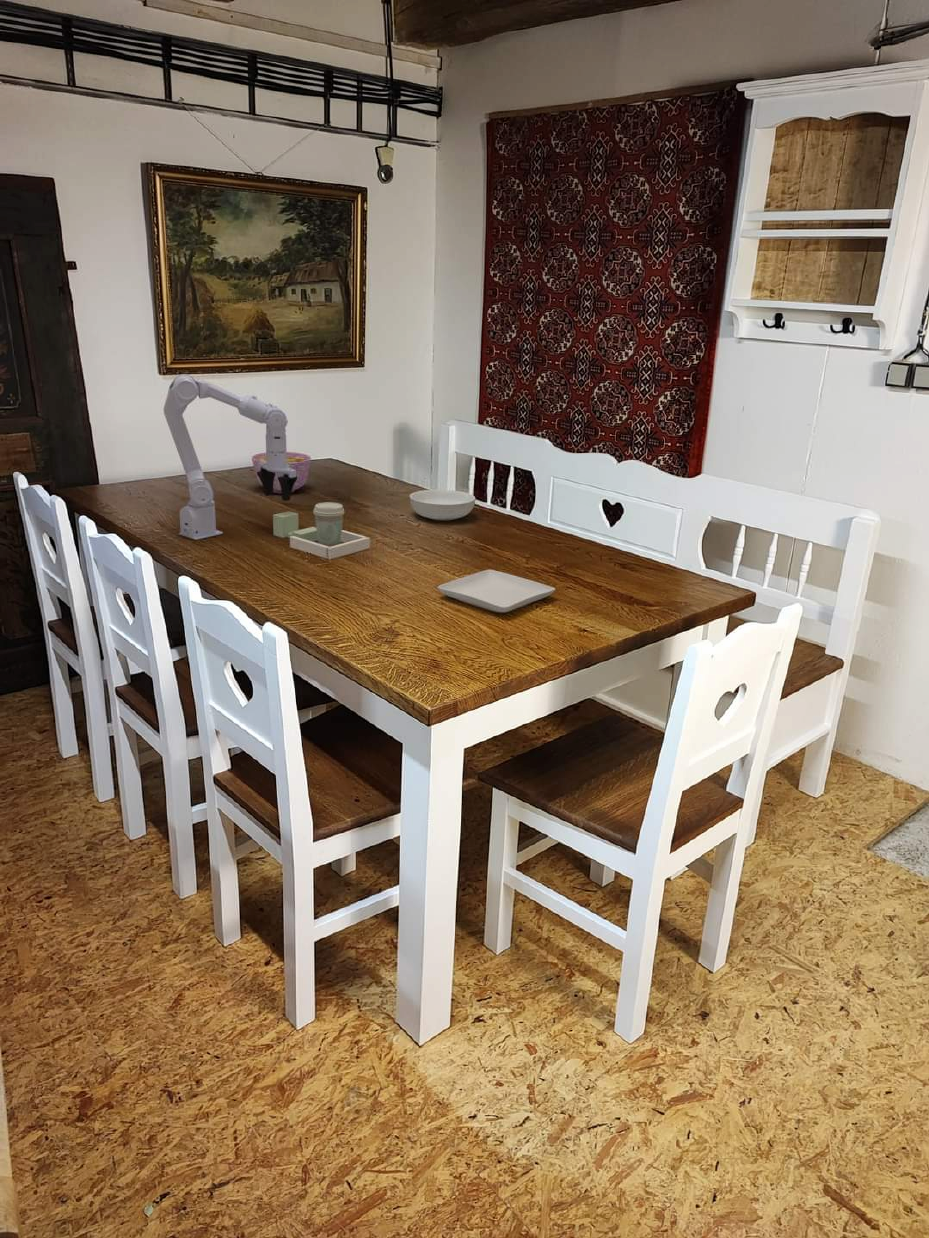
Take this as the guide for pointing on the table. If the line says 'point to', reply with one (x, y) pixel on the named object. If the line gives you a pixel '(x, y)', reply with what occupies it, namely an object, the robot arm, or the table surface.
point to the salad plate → (495, 590)
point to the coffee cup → (329, 523)
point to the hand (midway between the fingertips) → (277, 497)
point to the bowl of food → (294, 461)
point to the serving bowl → (442, 504)
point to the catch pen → (350, 546)
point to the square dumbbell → (292, 527)
